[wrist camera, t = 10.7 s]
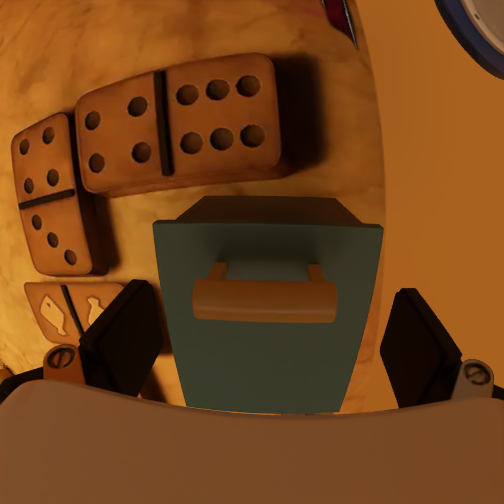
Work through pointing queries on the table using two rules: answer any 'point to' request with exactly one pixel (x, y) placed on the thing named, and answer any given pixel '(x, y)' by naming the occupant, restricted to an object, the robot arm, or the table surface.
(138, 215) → the table surface
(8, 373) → the apple
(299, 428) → the robot arm
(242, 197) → the chest
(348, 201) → the table surface
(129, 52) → the table surface
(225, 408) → the lid
